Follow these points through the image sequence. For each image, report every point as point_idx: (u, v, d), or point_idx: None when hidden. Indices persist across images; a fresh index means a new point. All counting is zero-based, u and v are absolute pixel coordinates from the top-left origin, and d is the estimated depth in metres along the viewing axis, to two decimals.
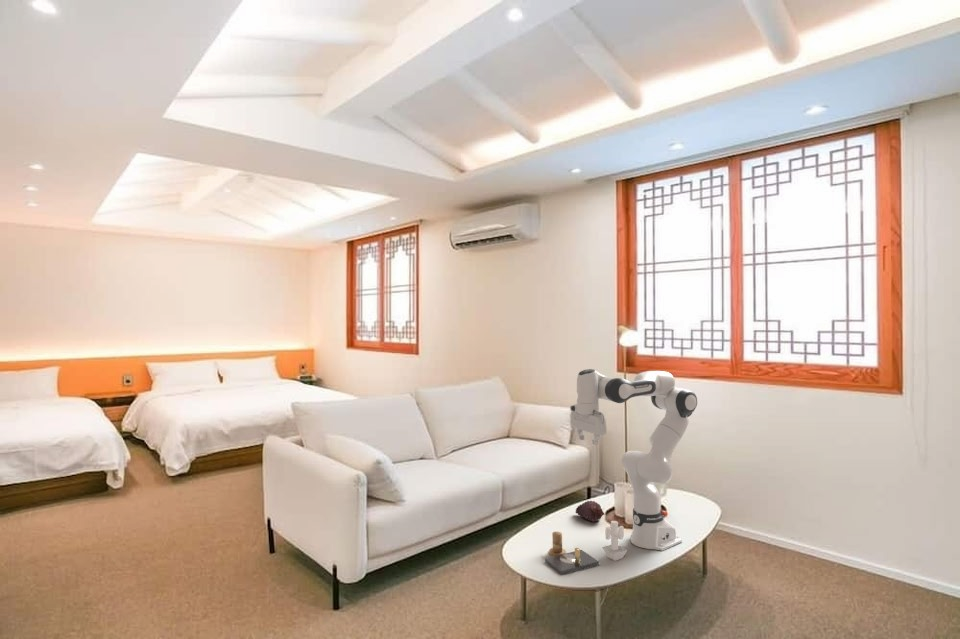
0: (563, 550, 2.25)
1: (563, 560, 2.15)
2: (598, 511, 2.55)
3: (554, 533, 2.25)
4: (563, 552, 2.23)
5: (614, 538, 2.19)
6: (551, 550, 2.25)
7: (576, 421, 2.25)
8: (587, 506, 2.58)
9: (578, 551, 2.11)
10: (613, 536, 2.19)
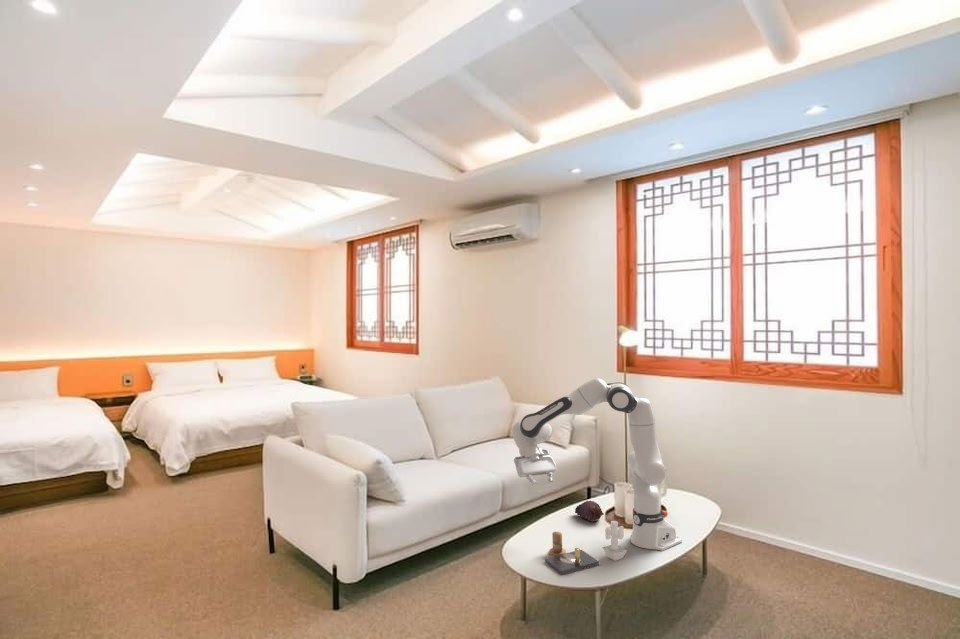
0: (563, 550, 2.25)
1: (563, 560, 2.15)
2: (597, 511, 2.55)
3: (554, 533, 2.25)
4: (563, 552, 2.23)
5: (614, 538, 2.19)
6: (551, 550, 2.25)
7: None
8: (586, 506, 2.58)
9: (578, 551, 2.11)
10: (613, 536, 2.19)
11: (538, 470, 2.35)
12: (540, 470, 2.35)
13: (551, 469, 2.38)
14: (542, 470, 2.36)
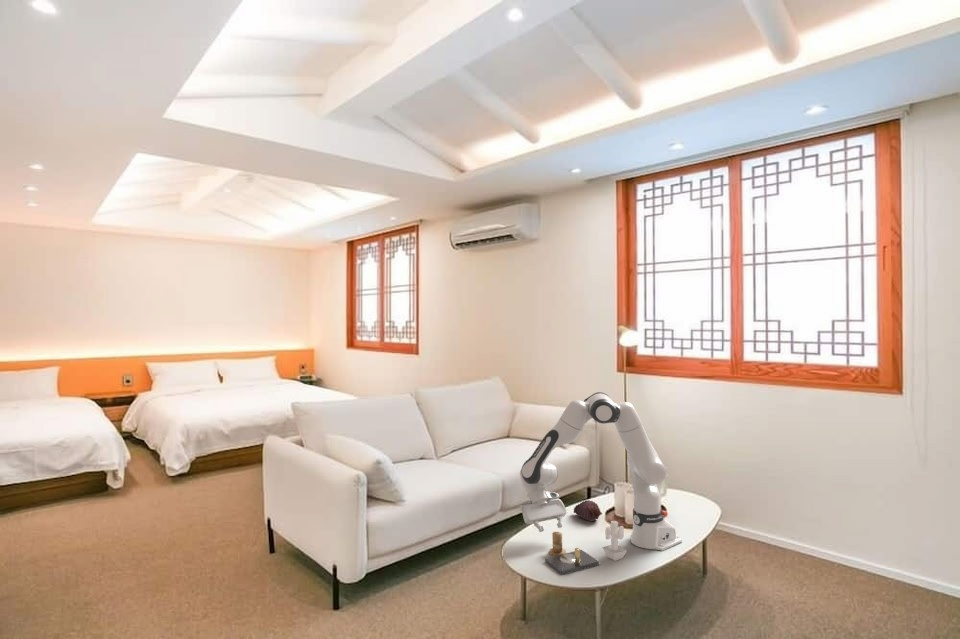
0: (563, 550, 2.25)
1: (563, 560, 2.15)
2: (595, 511, 2.55)
3: (554, 533, 2.25)
4: (563, 552, 2.23)
5: (614, 538, 2.19)
6: (551, 550, 2.25)
7: None
8: (584, 506, 2.59)
9: (578, 551, 2.11)
10: (613, 536, 2.19)
11: (545, 515, 2.31)
12: (548, 515, 2.31)
13: (560, 513, 2.34)
14: (550, 515, 2.32)
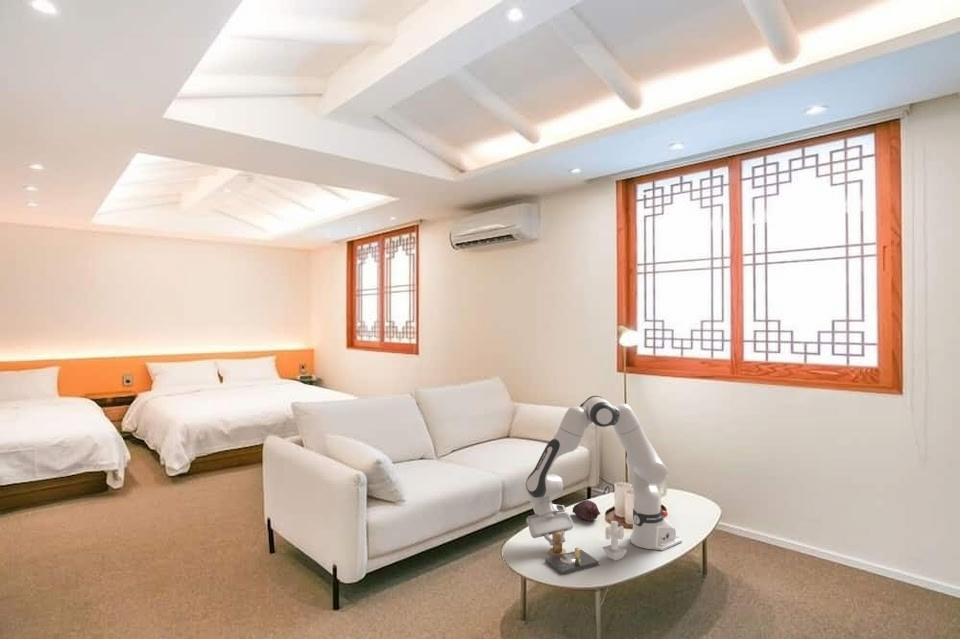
0: (563, 550, 2.25)
1: (563, 560, 2.15)
2: (594, 510, 2.56)
3: (554, 533, 2.25)
4: (563, 552, 2.23)
5: (614, 538, 2.19)
6: (551, 550, 2.25)
7: None
8: (583, 505, 2.59)
9: (578, 551, 2.11)
10: (613, 536, 2.19)
11: (552, 529, 2.26)
12: (554, 529, 2.26)
13: (567, 527, 2.29)
14: (557, 529, 2.27)
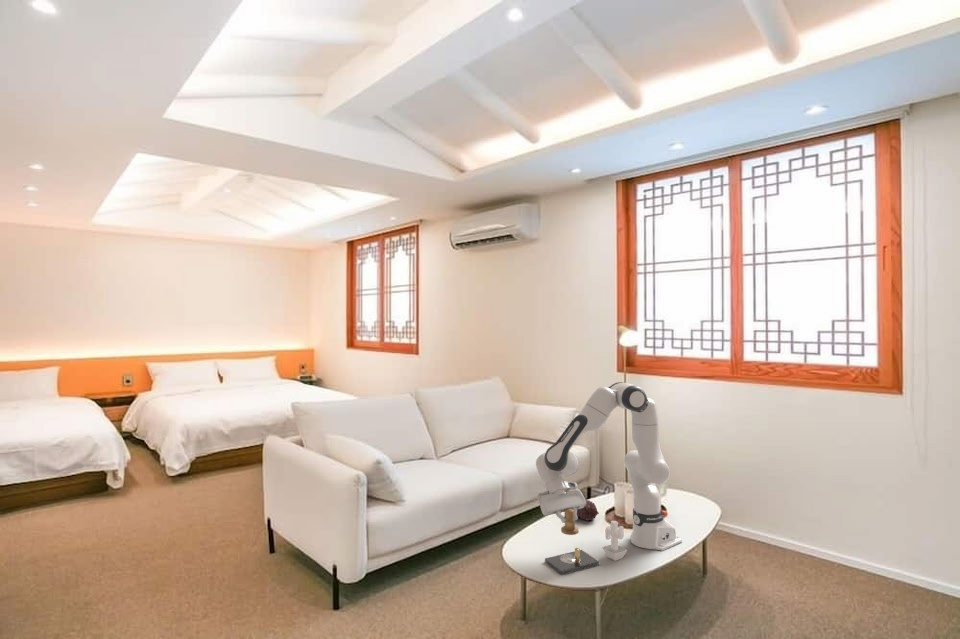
0: (576, 528, 2.17)
1: (563, 560, 2.15)
2: (592, 510, 2.56)
3: (566, 510, 2.16)
4: (576, 530, 2.15)
5: (614, 538, 2.19)
6: (563, 528, 2.17)
7: None
8: None
9: (578, 551, 2.11)
10: (613, 536, 2.19)
11: (564, 506, 2.17)
12: (566, 506, 2.18)
13: (579, 504, 2.20)
14: (569, 506, 2.18)
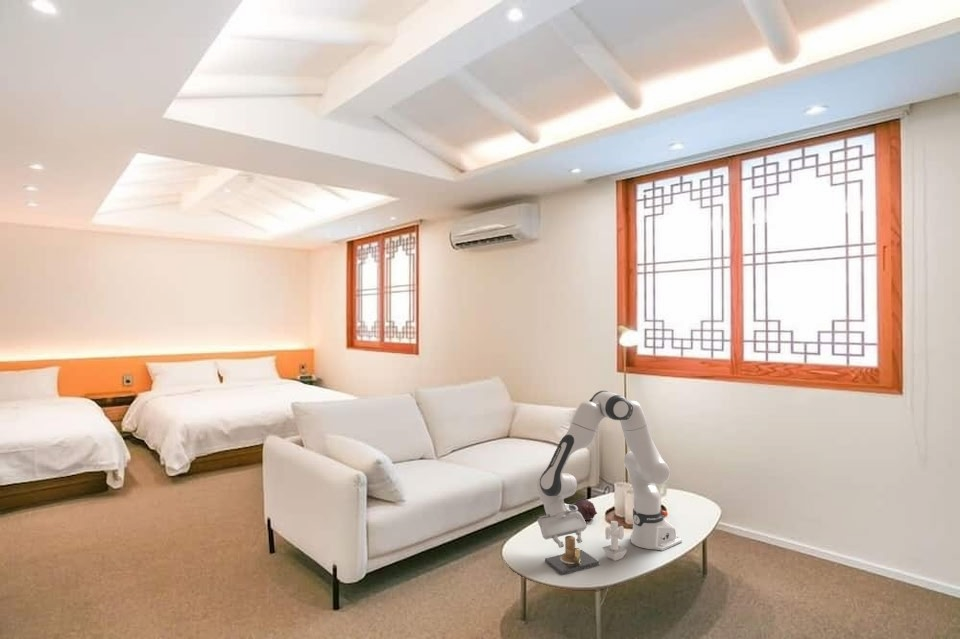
0: None
1: None
2: (590, 510, 2.57)
3: (567, 537, 2.16)
4: None
5: (614, 538, 2.19)
6: (564, 555, 2.17)
7: None
8: (580, 505, 2.60)
9: (578, 551, 2.11)
10: (613, 536, 2.19)
11: (565, 530, 2.17)
12: (567, 530, 2.18)
13: (580, 527, 2.20)
14: (569, 529, 2.18)
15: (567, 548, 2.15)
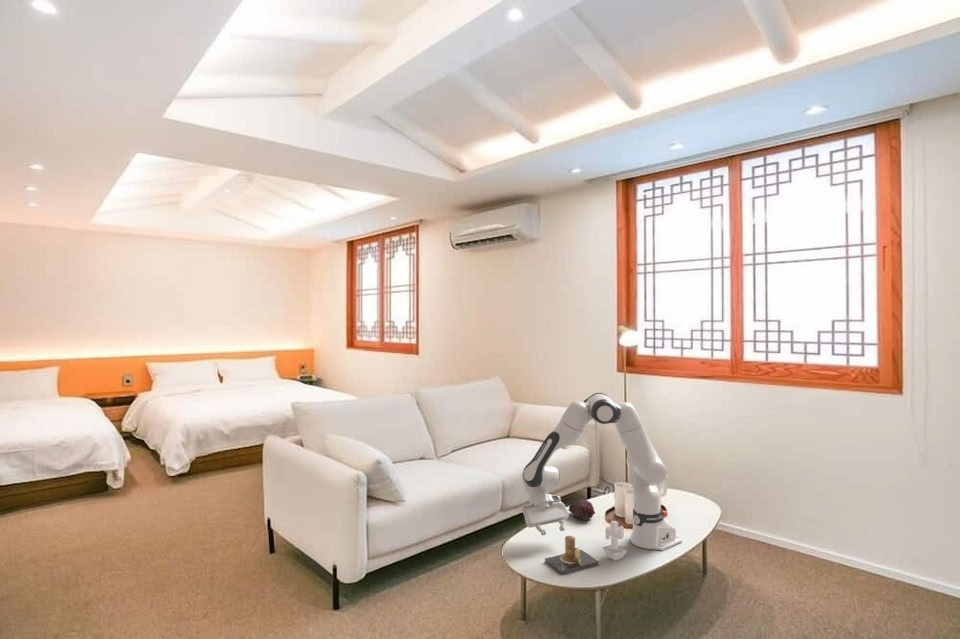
0: None
1: None
2: (588, 509, 2.57)
3: (567, 537, 2.16)
4: None
5: (614, 538, 2.19)
6: (564, 555, 2.17)
7: None
8: (578, 504, 2.61)
9: (578, 551, 2.11)
10: (613, 536, 2.19)
11: (548, 519, 2.29)
12: (550, 519, 2.30)
13: (562, 516, 2.32)
14: (552, 518, 2.30)
15: (567, 548, 2.15)
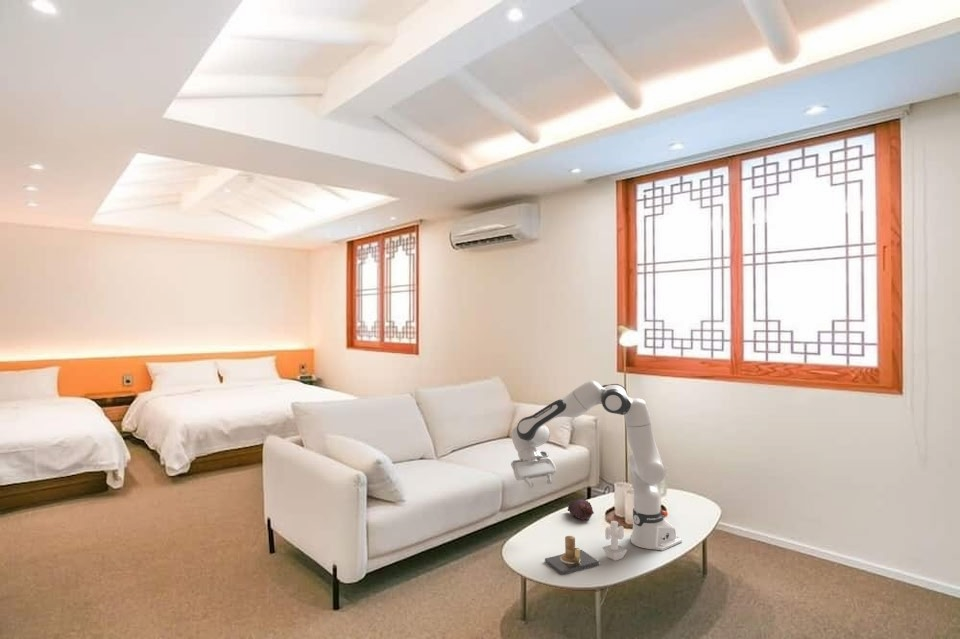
0: None
1: None
2: (587, 509, 2.57)
3: (567, 537, 2.16)
4: None
5: (614, 538, 2.19)
6: (564, 555, 2.17)
7: None
8: (577, 504, 2.61)
9: (578, 551, 2.11)
10: (613, 536, 2.19)
11: (536, 472, 2.38)
12: (538, 472, 2.38)
13: (550, 471, 2.41)
14: (540, 472, 2.38)
15: (567, 548, 2.15)
